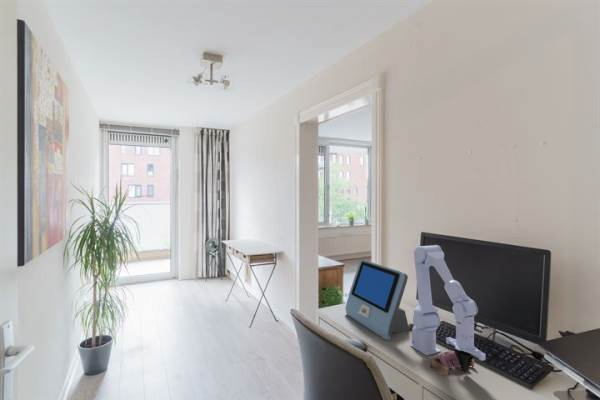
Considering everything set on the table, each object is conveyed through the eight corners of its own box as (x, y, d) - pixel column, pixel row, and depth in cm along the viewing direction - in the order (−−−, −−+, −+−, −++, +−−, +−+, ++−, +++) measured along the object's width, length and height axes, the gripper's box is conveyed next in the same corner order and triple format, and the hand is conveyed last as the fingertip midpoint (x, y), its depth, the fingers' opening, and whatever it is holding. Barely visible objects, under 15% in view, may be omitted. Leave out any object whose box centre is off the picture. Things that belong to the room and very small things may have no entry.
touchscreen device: (342, 314, 172) (344, 259, 172) (372, 310, 180) (373, 258, 180) (383, 342, 140) (385, 274, 140) (417, 335, 148) (419, 271, 148)
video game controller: (464, 370, 120) (458, 350, 124) (471, 370, 116) (466, 349, 119) (440, 372, 119) (435, 352, 122) (447, 373, 115) (442, 352, 118)
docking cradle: (430, 367, 120) (430, 359, 120) (457, 358, 126) (457, 351, 126) (446, 377, 113) (446, 368, 113) (474, 367, 119) (474, 360, 119)
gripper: (440, 327, 119) (440, 363, 120) (475, 344, 106) (475, 384, 106) (453, 324, 122) (453, 359, 122) (489, 340, 109) (489, 379, 109)
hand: (464, 370), depth 115 cm, fingers closed
